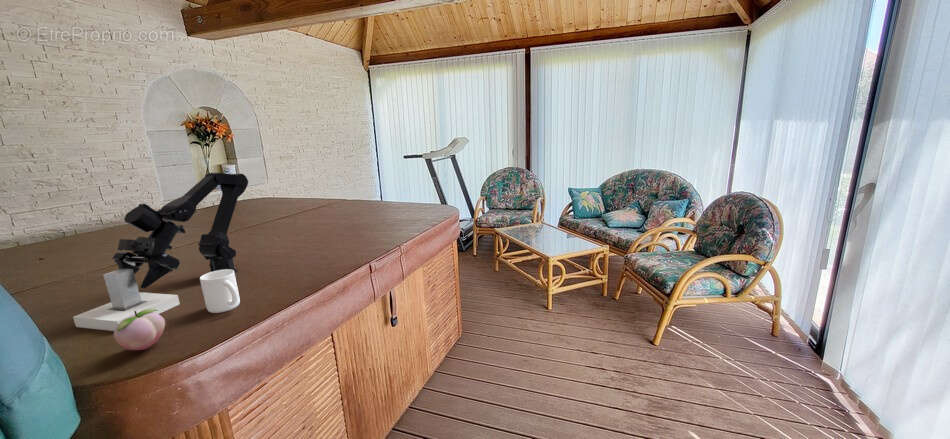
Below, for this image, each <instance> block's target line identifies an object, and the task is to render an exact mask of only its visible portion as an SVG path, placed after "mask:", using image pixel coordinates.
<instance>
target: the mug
mask: <svg viewBox="0 0 950 439" xmlns="http://www.w3.org/2000/svg"><path fill="white" fill-rule="evenodd" d="M236 279H237V278H236V272H234V270H231V269H224V270H217V271H213V272H211V271H210V272H206V273H204V274H203V275H201V276H200V277H199V282H200V285H201V286H200V287H201V290H202V294H203V298H204V304H205V307H206V309H207V310H206V311H208V312H209V313H210V314H212V313H213V314H219V313H225V312H228V311H231V310H233V309H235V308H237V307H238V306H239V305H240V303H241V300H240V299H241V298H240V294H239V293H240V292H239V288H238V284H237V280H236Z"/></svg>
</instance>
